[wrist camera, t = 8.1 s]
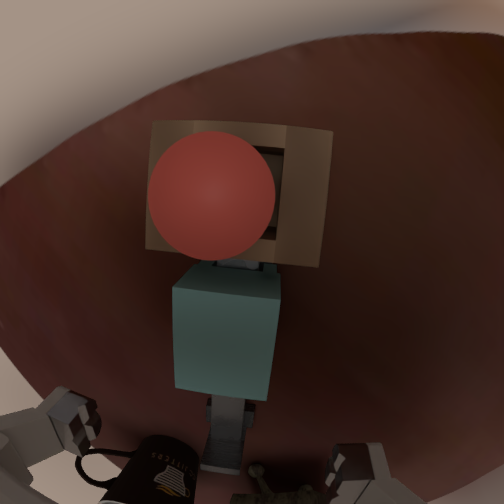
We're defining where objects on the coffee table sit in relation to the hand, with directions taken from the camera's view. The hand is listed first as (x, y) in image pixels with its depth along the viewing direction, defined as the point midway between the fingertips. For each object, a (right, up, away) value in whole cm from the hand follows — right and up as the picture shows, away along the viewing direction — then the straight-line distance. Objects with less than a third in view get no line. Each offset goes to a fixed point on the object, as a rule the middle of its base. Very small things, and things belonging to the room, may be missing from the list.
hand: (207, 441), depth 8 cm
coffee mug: (-8, -14, +18) cm, 24 cm away
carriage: (0, +3, +12) cm, 12 cm away
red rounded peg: (+1, +9, +6) cm, 10 cm away
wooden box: (+1, +10, +11) cm, 15 cm away
